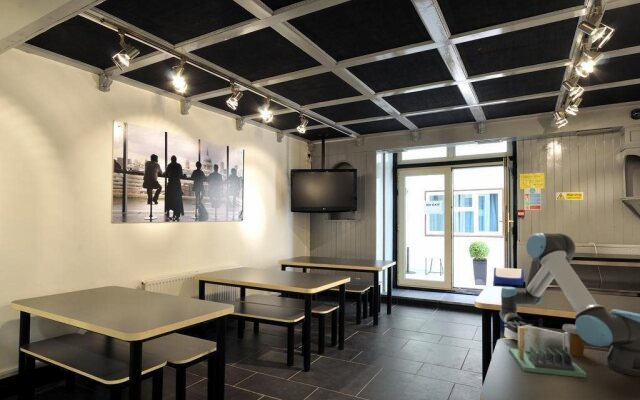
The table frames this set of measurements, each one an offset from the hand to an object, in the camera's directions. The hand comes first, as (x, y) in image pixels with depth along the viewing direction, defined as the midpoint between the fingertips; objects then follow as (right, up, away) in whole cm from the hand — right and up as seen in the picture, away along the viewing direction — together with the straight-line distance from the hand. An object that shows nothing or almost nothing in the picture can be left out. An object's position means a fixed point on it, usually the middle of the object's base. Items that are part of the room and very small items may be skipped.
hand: (528, 335), depth 170 cm
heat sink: (-1, -5, -17) cm, 18 cm away
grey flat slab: (+2, -5, -8) cm, 10 cm away
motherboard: (0, -7, -13) cm, 15 cm away
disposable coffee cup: (+21, -8, 0) cm, 22 cm away
